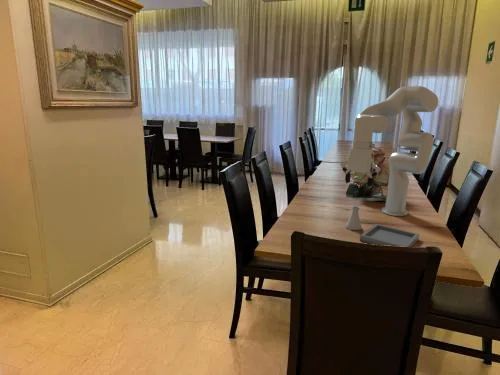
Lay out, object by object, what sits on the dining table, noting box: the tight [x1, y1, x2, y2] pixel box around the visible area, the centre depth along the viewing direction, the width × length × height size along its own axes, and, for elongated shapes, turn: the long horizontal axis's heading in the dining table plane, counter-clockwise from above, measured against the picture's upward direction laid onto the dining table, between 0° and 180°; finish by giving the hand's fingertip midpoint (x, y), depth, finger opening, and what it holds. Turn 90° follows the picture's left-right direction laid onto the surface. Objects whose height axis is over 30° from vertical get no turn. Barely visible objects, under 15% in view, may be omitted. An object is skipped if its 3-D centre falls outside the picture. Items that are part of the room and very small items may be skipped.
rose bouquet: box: [345, 146, 389, 203], centre depth 199 cm, size 26×29×30 cm
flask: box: [345, 205, 363, 231], centre depth 152 cm, size 7×7×10 cm
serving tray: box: [359, 223, 420, 248], centre depth 139 cm, size 18×18×2 cm
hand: (358, 184), depth 147 cm, fingers open, 9 cm apart
